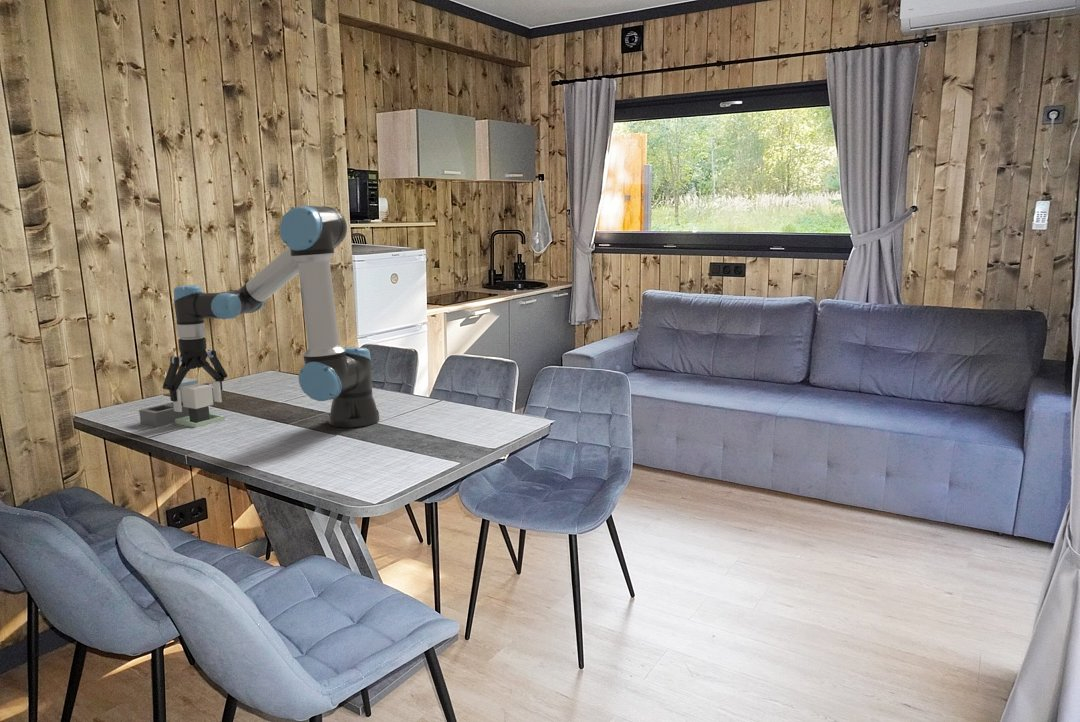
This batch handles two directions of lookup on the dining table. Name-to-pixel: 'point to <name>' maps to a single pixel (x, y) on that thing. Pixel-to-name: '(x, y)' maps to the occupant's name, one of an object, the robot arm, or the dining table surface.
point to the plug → (197, 401)
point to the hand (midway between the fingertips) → (198, 406)
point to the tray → (186, 422)
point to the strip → (166, 410)
